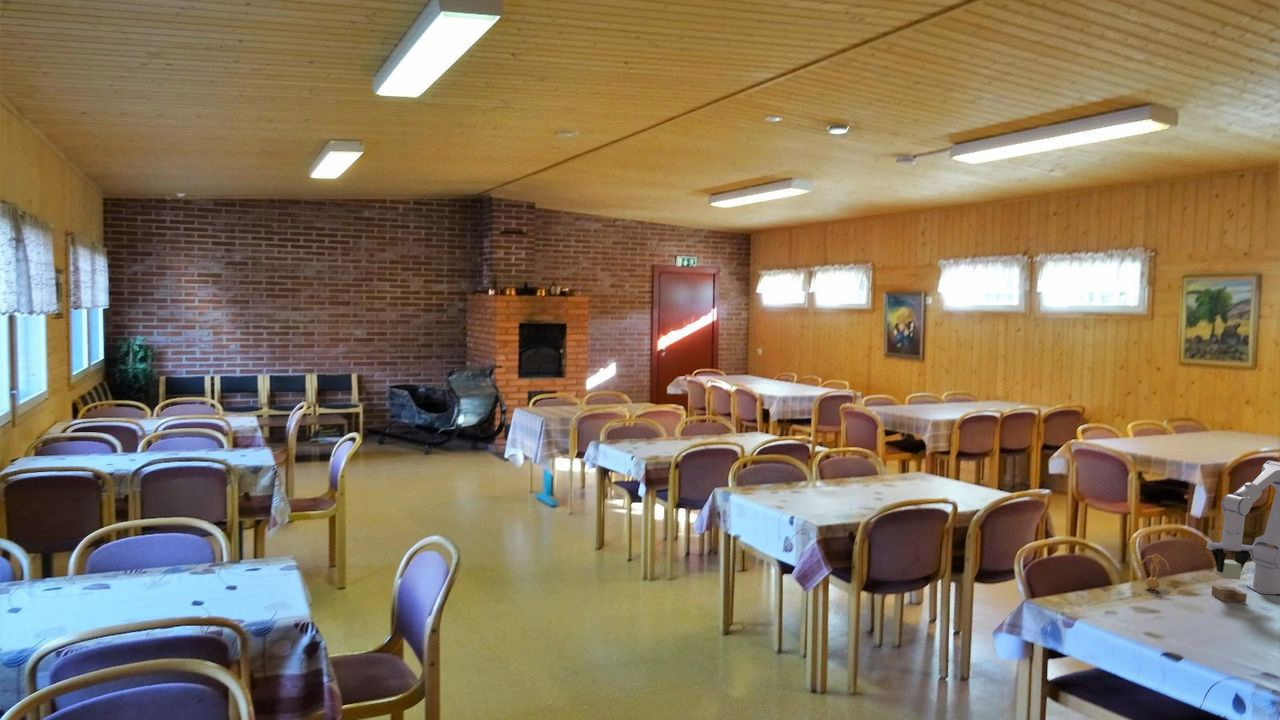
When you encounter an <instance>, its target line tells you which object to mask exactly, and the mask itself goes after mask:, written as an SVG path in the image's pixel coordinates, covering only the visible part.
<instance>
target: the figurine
mask: <svg viewBox="0 0 1280 720" xmlns="http://www.w3.org/2000/svg"><path fill="white" fill-rule="evenodd" d="M1151 558H1152V562H1153V563H1152V562H1151V563H1150V567H1149V569H1150V576H1149V577H1147V579H1146V580H1145V585H1146V587H1147V589H1149V590H1152V591H1153V590H1157V589H1159V587H1160V581H1159V580H1158V574H1159V570H1160V567H1161V564H1159V562H1160V561H1163V562H1165V564H1166V568H1167V571H1168V572H1169V571H1170V567H1169V564H1168V561H1167V560H1166V559H1165V558H1163V557H1162V556H1160V554H1159V553H1158V552H1156V553H1155V554H1153V555H1148V556H1145V558H1144V559H1143V560H1142V562H1141V563H1140V566H1143V564H1144V562H1145V561H1146V560H1147V559H1151ZM1154 568H1155V576H1153V574H1154V573H1153V570H1154Z"/></svg>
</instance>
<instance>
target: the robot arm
mask: <svg viewBox="0 0 1280 720" xmlns="http://www.w3.org/2000/svg"><path fill="white" fill-rule="evenodd" d="M1269 486H1272V487H1274V489H1275V494H1274V497H1273V501H1272V505H1271V508H1270V511H1269V516H1268V519H1267V523H1266V528H1265V531H1264V534H1262V535H1260V536H1258V537H1255V539H1254V541H1253V543H1252V545H1248V544H1243V539H1244V530H1245V529H1244V528H1245V522H1246V515H1247V514H1249V513H1250V512H1251V511H1250V510H1251V508H1252V507H1253V504H1254V503H1255V502H1256V501H1257V500H1259V498H1261V496H1262V495H1263V490H1265V489H1266V488H1267V487H1269ZM1220 506H1221V509H1222V516H1223V525H1222V533H1221V541H1219V542H1209V541H1208V542H1206V549H1208V550H1209V551H1211V553H1212V556H1213V559H1214V561H1215V565H1216V567H1217V571H1219V572H1223V567H1224V561H1225V560H1226V557H1227V555H1228V554H1227V553H1226V552H1225V551H1229V552H1230V551H1231V552H1234V561H1236V562H1238V563H1240V564H1242V565H1241V571H1243V567H1244V566H1245V565H1246V563H1247V561H1248V560H1250V558H1251V560H1252V561H1253V562H1252V563H1254V573H1253V581H1252V584H1246V587H1248V588H1249V589H1251V590H1253V591H1255V592H1256V593H1259V594H1261V595H1262V594H1265V595H1275V594H1280V461H1273V460H1267V461H1266V462H1264V464H1263V465H1262V469H1261V473H1260V474H1259V475H1258V476H1256V478H1255V479H1254V480H1253V481H1252V482H1246V483H1244V484H1243V485H1241V486H1240V488H1238V489H1237V490H1236V491H1235V492H1234V493H1233V494H1232V493H1229V494H1225V496H1224V497H1223V498H1222V500H1221V502H1220ZM1270 545H1271V546H1270ZM1216 567H1215V568H1216Z"/></svg>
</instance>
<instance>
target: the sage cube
mask: <svg viewBox="0 0 1280 720" xmlns="http://www.w3.org/2000/svg"><path fill="white" fill-rule="evenodd" d="M1241 565H1242V564H1240V563H1238V562H1236V561H1235V559H1225V561H1224V567H1223V572H1219V571H1217V567H1215V575H1217V576H1219V577H1220V578H1222V579H1227V580H1241V575H1242V574H1241V572H1242V570H1241Z"/></svg>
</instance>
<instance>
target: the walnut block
mask: <svg viewBox="0 0 1280 720" xmlns="http://www.w3.org/2000/svg"><path fill="white" fill-rule="evenodd" d="M1211 586H1212V587H1211V595H1212V596H1213V597H1215V598H1216V599H1219V600H1220V601H1222V602H1223V601H1224V602H1227V603H1237V602H1246V603H1247V597H1248V596H1247V595H1248V593H1246V592H1244V591H1242V590H1241V589H1239V588H1237V587H1235V586H1227V585H1226V586H1225V585H1211ZM1224 602H1223V603H1224Z"/></svg>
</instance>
